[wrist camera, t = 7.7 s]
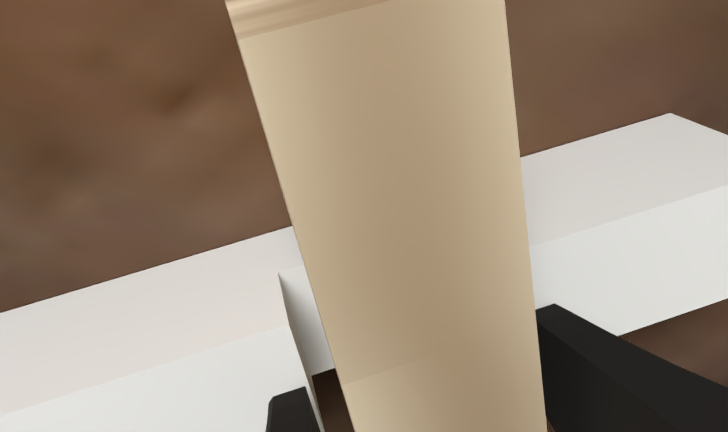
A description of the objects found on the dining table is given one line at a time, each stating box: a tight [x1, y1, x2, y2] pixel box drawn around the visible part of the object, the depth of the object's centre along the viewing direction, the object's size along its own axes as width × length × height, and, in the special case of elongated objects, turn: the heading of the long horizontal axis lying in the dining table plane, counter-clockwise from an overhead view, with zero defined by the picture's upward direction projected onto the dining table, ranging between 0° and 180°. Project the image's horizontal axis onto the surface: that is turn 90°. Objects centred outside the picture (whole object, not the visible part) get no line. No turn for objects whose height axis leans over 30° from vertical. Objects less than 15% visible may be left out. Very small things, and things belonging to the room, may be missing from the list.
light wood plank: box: [224, 0, 547, 432], centre depth 13 cm, size 3×14×7 cm, turn 12°
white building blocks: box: [0, 113, 728, 432], centre depth 14 cm, size 18×3×4 cm, turn 102°
